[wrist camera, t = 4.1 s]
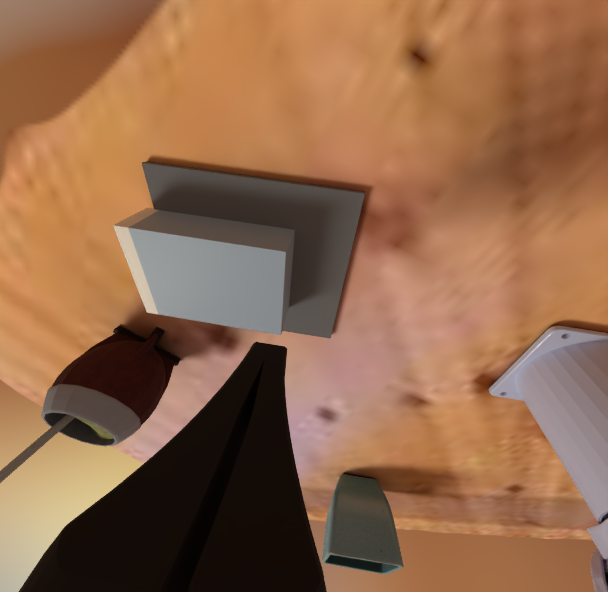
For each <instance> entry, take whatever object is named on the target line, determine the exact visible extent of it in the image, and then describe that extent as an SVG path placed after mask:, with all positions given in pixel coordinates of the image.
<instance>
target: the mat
mask: <svg viewBox="0 0 608 592" xmlns="http://www.w3.org/2000/svg"><path fill="white" fill-rule="evenodd" d="M142 166H143V170H144V173H145V177H146V181H147V184H148V188H149V192H150V195H151V199H152V203H153V206H154V209H156V210H162V211H169V212H176V213H183V214H190V215H197V216H204V217H210V218H217V219H224V220H231V221H238V222H245V223H252V224H258V225H265V226H272V227H279V228H286V229H293V230H295V237H294V249H293V262H292V275H291V287H290V300H289V309H288V312H287V316H286V319H285V323H284V326H283V330H282V331H288V332H294V333H300V334H306V335H312V336H319V337H325V338H331V334H332V330H333V326H334V321H335V317H336V313H337V309H338V305H339V301H340V296H341V292H342V288H343V284H344V280H345V275H346V271H347V267H348V263H349V259H350V254H351V250H352V246H353V242H354V238H355V234H356V229H357V225H358V221H359V217H360V213H361V208H362V204H363V200H364V196H365V192H364V191H357V190H350V189H342V188H335V187H328V186H321V185H313V184H306V183H299V182H291V181H284V180H277V179H270V178H262V177H255V176H248V175H241V174H233V173H226V172H219V171H212V170H204V169H197V168H190V167H183V166H175V165H168V164H161V163H154V162H143V163H142Z"/></svg>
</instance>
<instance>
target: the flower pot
mask: <svg viewBox="0 0 608 592" xmlns="http://www.w3.org/2000/svg"><path fill="white" fill-rule="evenodd" d="M322 562H323V563H326V564H331V565H336V566H341V567H347V568H352V569H358V570H364V571H369V572H375V573H380V574H389V573H391V572H394V571H396V570H399V569H401V568H403V562H402V557H401V552H400V547H399V542H398V538H397V533H396V528H395V524H394V519H393V515H392V512H391V508H390V506H389V503H388V501H387V498H386V496H385V494H384V492H383V490H382V489H381V487H380V485H379V484H378V482H377V481H376V480H375V479H372V478H364V477H358V476H351V475H347V474H343V475H341V477H340V479H339V481H338V483H337V486H336V489H335V491H334V494H333V497H332V500H331V503H330V506H329V511H328V515H327V522H326V530H325V539H324V548H323V557H322Z"/></svg>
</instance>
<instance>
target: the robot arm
mask: <svg viewBox="0 0 608 592" xmlns="http://www.w3.org/2000/svg"><path fill="white" fill-rule="evenodd" d="M286 356H287V348H286V347H284V346H278V345H272V344H265V343H259V342H255V343H254V344H253V345H252V347H251V349H250V350H249V352H248V353H247V355H246V356H245V358H244V359H243V360H242V362H241V363H240V364H239V366H238V367H237V369H236V370H235V371H234V372H233V374H232V375H231V376H230V377H229V379H228V380H227V381H226V382H225V384H224V385H223V386H222V387H221V388H220V390H219V391H218V392H217V393H216V394H215V395H214V396H213V398H212V399H211V400H210V401H209V402H208V403H207V404H206V405H205V406H204V408H203V409H202V410H201V411H200V412H199V413H198V414H197V415H196V416H195V417H194V418H193V419H192V420H191V421H190V422H189V423H188V424H187V425H186V426H185V427H184V428H183V429H182V430H181V431H180V432H179V433H178V434H177V435H176V436H175V437H173V438H172V439H171V440H170V441H169V442H168V443H167V444H166V445H165V446H164V447H163V448H162V449H160V450H159V451H158V452H157V453H156V454H155V455H154V456H153V457H151V458H150V459H149V460H148V461H147V462H146V463H144V464H143V465H142V466H141V467H140V468H138V469H137V470H136V471H135V472H134V473H132V474H131V475H130V476H129V477H128V478H126V479H125V480H124V481H123V482H122V483H120V484H119V485H118V486H117V487H115V488H114V489H113V490H112V491H110V492H109V493H108V494H106V495H105V496H104V497H103V498H101V499H100V500H99V501H97V502H96V503H95V504H93V505H92V506H91V507H90V508H88V509H87V510H85V511H84V512H83V513H82V514H80V515H79V516H78V517H76V518H75V519H74V520H72V521H71V522H70V523H69V524H67V525H66V526H65V527H64V529H63V530H62V531H61V532H60V534H59V535H58V536H57V538H56V539H55V540H54V542H53V543H52V544H51V545H50V547H49V548H48V549H47V551H46V552H45V553H44V555H43V556H42V558H41V559H40V561H39V562H38V564H37V565H36V567H35V568H34V570H33V571H32V573H31V574H30V576H29V577H28V579H27V580H26V582H25V583H24V585H23V586H22V588H21V589H20V591H19V592H327V591H326V586H325V581H324V575H323V571H322V567H321V563H320V560H319V556H318V553H317V549H316V546H315V542H314V538H313V535H312V531H311V528H310V524H309V520H308V516H307V512H306V508H305V504H304V500H303V496H302V491H301V487H300V483H299V478H298V474H297V469H296V464H295V459H294V454H293V449H292V443H291V438H290V431H289V424H288V417H287V408H286V397H285V379H284V377H285V368H286ZM489 392H490V394H491V395H493V396H499V397H505V398H511V399H516V400H522V401H524V402H525V403H526V405H527V407H528V408H529V410H530V411H531V413H532V415H533V416H534V418H535V420H536V421H537V423H538V425H539V426H540V428H541V429H542V431H543V433H544V434H545V436H546V438H547V439H548V441H549V443H550V444H551V446H552V448H553V449H554V451H555V452H556V454H557V456H558V457H559V459H560V461H561V462H562V464H563V466H564V467H565V469H566V471H567V472H568V474H569V475H570V477H571V479H572V480H573V482H574V484H575V485H576V487H577V489H578V490H579V492H580V494H581V495H582V497H583V498H584V500H585V502H586V503H587V505H588V507H589V508H590V510H591V512H592V513H593V515H594V516H595V518H596V520H597V521H598V523H599V525H597V526H594V527H589V528H587V530H588V532H589V534H590V536H591V537H592V539H593V541H594V543H595V544H596V546H597V549H596V550H595V551H594V552H593V554H592V557H591V574H592V579H593V584H594V587H595V592H608V333H604V332H597V331H591V330H584V329H578V328H571V327H565V326H553V327H551V328H549V329H548V330H547V331H546V332H545V333H544V334H543V335H542V336H541V337H540V338H539V339H538V340H537V341H536V342H535V343H534V344H533V345H532V346H531V347H530V348H529V349H528V350H527V351H526V352H525V353H524V354H523V355H522V356H521V357H520V358H519V359H518V360H517V361H516V362H515V363H514V364H513V365H512V366H511V367H510V368H509V369H508V370H507V371H506V372H505V373H504V374H503V375H502V376H501V377H500V378H499V379H498V380H497V381H496V382H495V383H494V384H493V385H492V386H491V387H490V388H489Z"/></svg>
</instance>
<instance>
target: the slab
mask: <svg viewBox="0 0 608 592" xmlns="http://www.w3.org/2000/svg"><path fill="white" fill-rule="evenodd" d="M113 226H114V229H115V231H116V234H117V237H118V239H119V242H120V244H121V247H122V250H123V252H124V255H125V257H126V260H127V262H128V265H129V268H130V270H131V273H132V275H133V278H134V280H135V283H136V286H137V288H138V291H139V293H140V296H141V299H142V301H143V304H144V306H145V309H146V311H147V313H153V314H159V315H165V316H171V317H176V318H182V319H188V320H194V321H200V322H206V323H212V324H218V325H224V326H229V327H235V328H241V329H247V330H253V331H259V332H265V333H271V334H276V335H281V333H282V330H283V326H284V323H285V319H286V316H287V312H288V309H289V300H290V287H291V275H292V262H293V249H294V237H295V230H293V229H286V228H279V227H272V226H265V225H258V224H252V223H245V222H238V221H231V220H224V219H217V218H210V217H204V216H197V215H190V214H183V213H176V212H169V211H162V210H156V209H152V208H146V209H144V210H142V211H140V212H138V213H136V214H134V215H132V216H130V217H129V218H127V219H125V220H123V221H121V222H119V223H117V224H115V225H113Z"/></svg>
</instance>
